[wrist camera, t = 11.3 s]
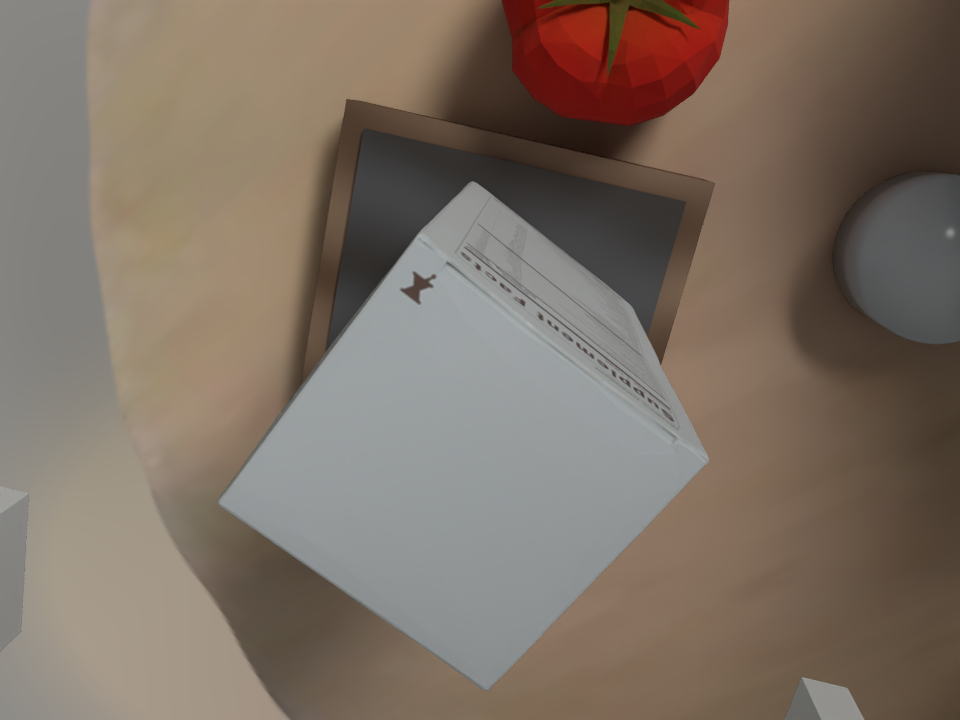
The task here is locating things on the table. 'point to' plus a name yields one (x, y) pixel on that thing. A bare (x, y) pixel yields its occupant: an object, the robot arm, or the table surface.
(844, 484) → the table surface
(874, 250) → the grey rounded block
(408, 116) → the picture frame
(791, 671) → the table surface
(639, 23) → the tomato
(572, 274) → the supplement box
